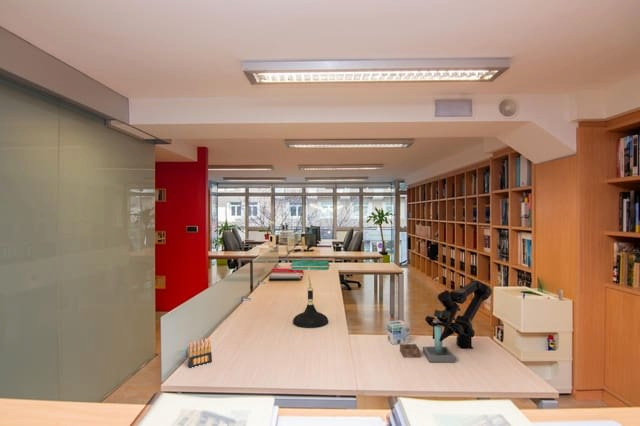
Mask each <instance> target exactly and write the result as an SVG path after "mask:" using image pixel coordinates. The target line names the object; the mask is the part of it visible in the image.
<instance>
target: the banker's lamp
mask: <svg viewBox="0 0 640 426" xmlns="http://www.w3.org/2000/svg"><path fill="white" fill-rule="evenodd" d="M329 262H330V261H328V260H320V259H319V260H316V259H315V260H314V259H313V260H308V259H307V260H292V261H291V264H290V265H289V267H290V268H291V271H292V270H293V271H307V278H308V282H309V285H308V287H307V301H308V302H307V304H306V307H305V308H304V311H303V312H301V313H298V314H296V316H294V317H293V320H292V324H293V325H294V326H296V327H298V328H302V329H303V328H304V329H316V328H322V327H324V326H326V325H328V324H329V319H328V317H327V316H326V314H323V313H322V312H318V310H317V309H316V308H315V305H314V302H313V301H314V288H313V287H312V283H311V279H310V271H328V270H329V269H330V268H331V264H330V263H329Z"/></svg>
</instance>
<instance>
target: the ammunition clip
mask: <svg viewBox="0 0 640 426" xmlns="http://www.w3.org/2000/svg"><path fill="white" fill-rule="evenodd" d="M188 345H189V346H188V357H187V358H188V362H187V363H188V364H187V367H189V368H190V369H193V368H196V367H195V366H197V367H200V366H199V365H201V366H204V365H208V364H212V363H213V355H212V341H211V337H208V340H207V337H205V339H204V340H203V338H201V341H200V340H199V339H197V342H196V340H194V341H193V342H192V341H189V344H188ZM211 362H212V363H211ZM207 363H208V364H207ZM203 364H204V365H203ZM192 367H193V368H192ZM189 368H188V369H189Z"/></svg>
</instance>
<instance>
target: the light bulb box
mask: <svg viewBox="0 0 640 426" xmlns="http://www.w3.org/2000/svg"><path fill="white" fill-rule="evenodd" d="M387 341H388V342H389V343H390V344H391V345H400V344H411V323H410V322H408V320H406V319H400V320H388V321H387Z"/></svg>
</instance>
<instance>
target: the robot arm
mask: <svg viewBox="0 0 640 426" xmlns="http://www.w3.org/2000/svg"><path fill="white" fill-rule="evenodd" d="M471 294H473V297H472V298H471V301H470V302H469V304H468V306H467V307H466V308H465V311H464V312H463V314H462V315H458V314H457V312H460V311H461V307H460V304H461V305H463V304H465V302H466V301H467V298H468V297H469V296H471ZM492 294H493V290H492V288H491V287H490V286H489V285H486V284H484V283H482V282H481V280H474V279H473V280H470V282H469V283H467V284H465V285H464V286H463V287H461V288H459V289H453V290H451V291H450V290H446V289H444V291H442V292H440V293H438V295H437V299H438V301H439V302H440V304H441V305H442V306H443V307H444V309H443V310H438V309H434V313H433V316H432V315H431V316H430V315H426V317H424V321H425V322H426V323H427V324H428V325H429V327H432V339H433V340H435V329H434V327H435V326H441V327H442V328H443V330H442V335H441V337H440V341H442V342H443V341H444V340H445V339H447V338H448V337H450V336H452V335H455V334H457V336H455V337H456V339H455V341H456V343H455V344H456V346H458V348H459V349H474V347H473V346H472V338H474V337H475V332H476V331H475V330H474V329H473V320H474V318H475V316H476V315H477V312H478V310H479V309H480V307H481V306H482V304H483V302H484V301H486V300H488V299H489V298H490V296H491V295H492ZM458 304H459V305H458ZM456 314H457V316H456ZM435 317H436V318H435ZM453 321H454V322H453Z"/></svg>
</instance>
